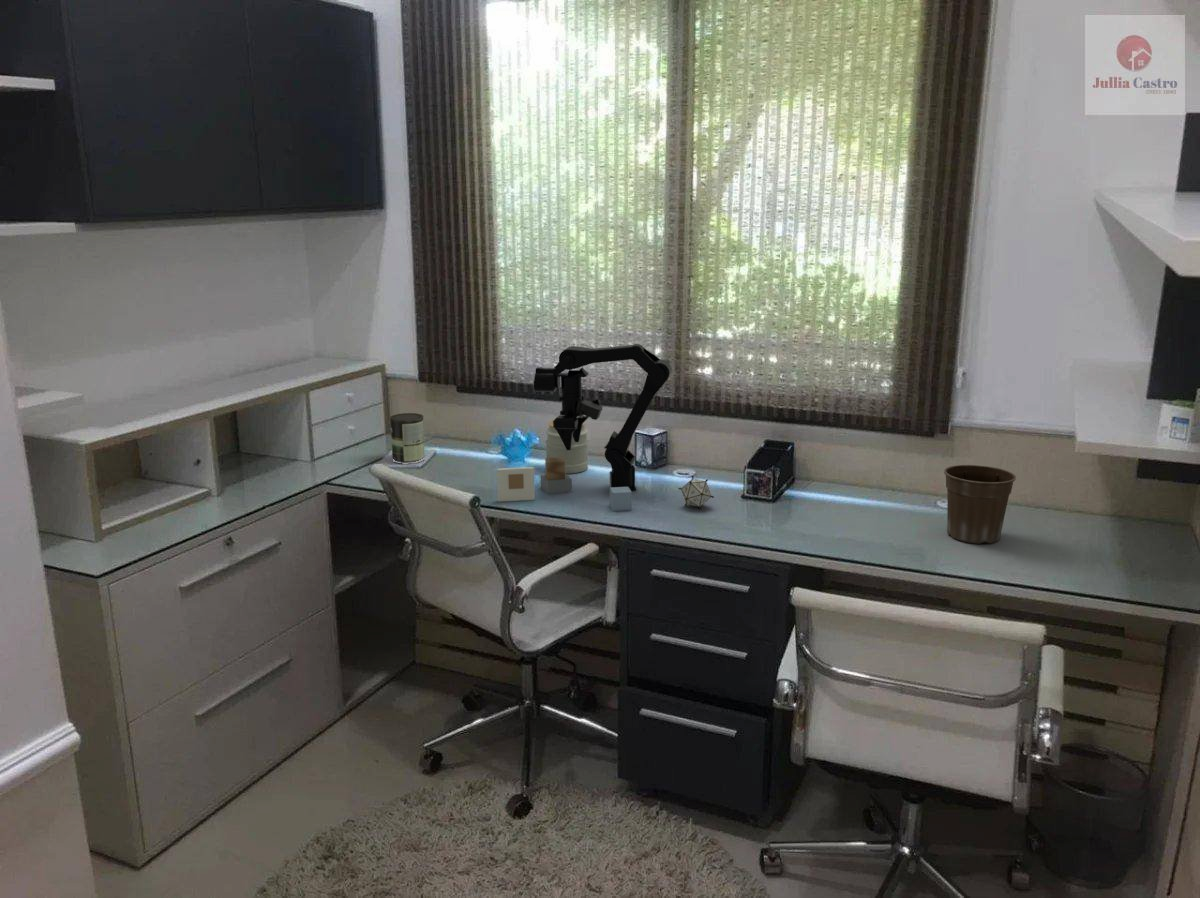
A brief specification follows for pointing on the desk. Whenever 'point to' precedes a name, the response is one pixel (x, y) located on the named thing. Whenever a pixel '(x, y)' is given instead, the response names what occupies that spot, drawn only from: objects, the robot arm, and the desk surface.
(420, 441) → the coffee can
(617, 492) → the slate blue cube
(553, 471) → the walnut cube
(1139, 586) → the desk surface
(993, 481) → the plant pot
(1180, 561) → the desk surface
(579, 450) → the jar
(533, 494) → the plaque
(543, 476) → the base block
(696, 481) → the game die
